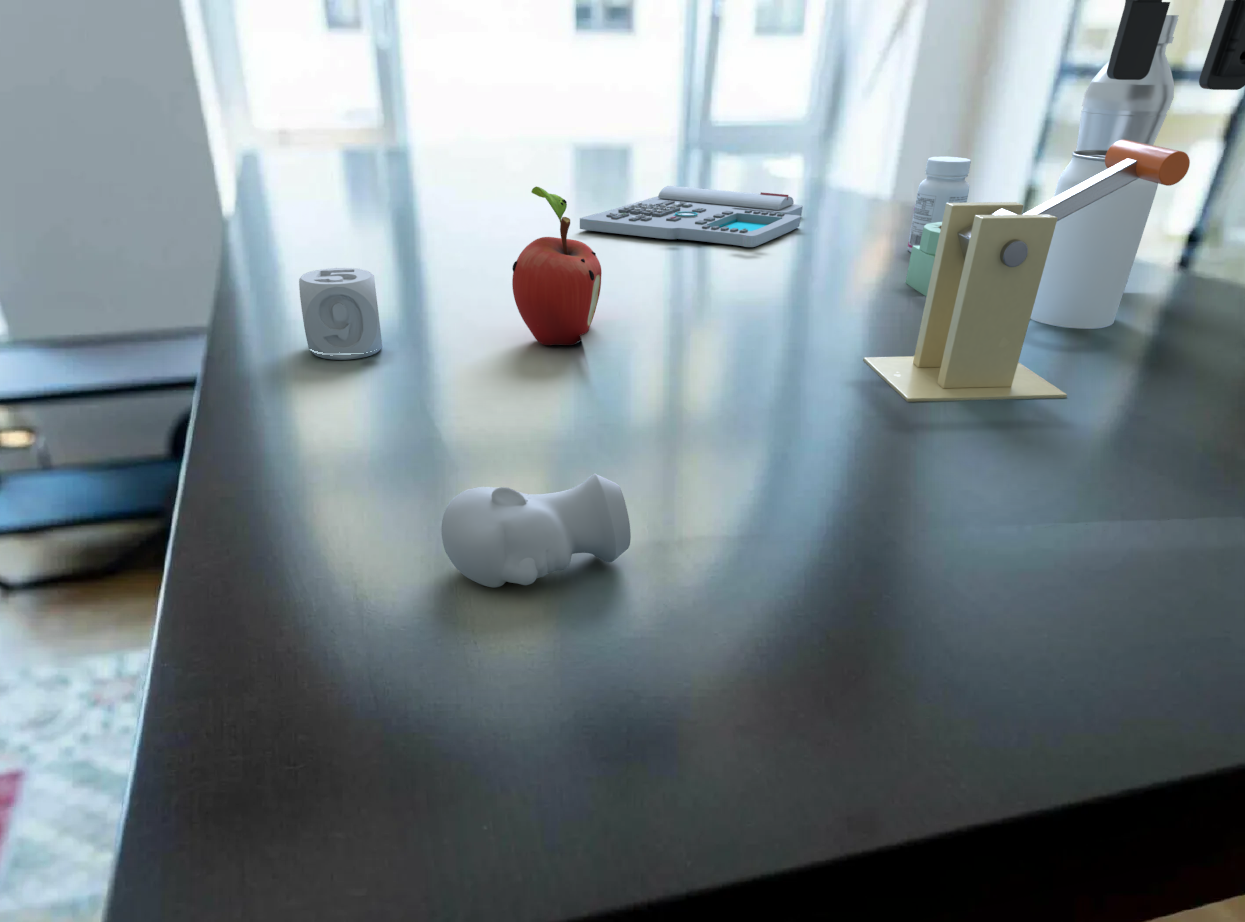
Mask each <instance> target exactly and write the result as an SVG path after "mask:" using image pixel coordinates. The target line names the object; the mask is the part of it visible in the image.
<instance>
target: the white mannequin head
mask: <svg viewBox="0 0 1245 922" xmlns="http://www.w3.org/2000/svg"><path fill="white" fill-rule="evenodd" d="M630 524H631V523H630V518H629V513H628V508H627V504H626V500H625V496H624V493H623V490H622V489H621V486H620V485H619V484H618V483H617V482H614V481H613V480H611V479H608V478H606V477H604V476H602V475H599V474H597V473H592V474H591V475H590V476H589V477H587V478H586V479H585V480H584V481H582V482H581V483H579V484H578V485H576V486H573V487H571V488H569V489H564V490H561V491H555V492H547V493H533V494H532V493H531V494H529V493H524V492H521V491H517V490H515V489H513V488H510V487H507V486H500V487H494V486H493V487H492V486H479V487H472V488H468V489H466V490H463V491H461V492H459V493H458V494H456V495H455V496H454V497H453V498H452V499H450V501H449V503H447V506H446V507H445V510H444V511H443V516H442V519H441V540H442V545H443V549H444V551H445V554H446V555H447V557H448V559H449V561H450V562H451V564H452V565H453V566H454V567H455V568H456V570H457V571H458V572H459V573H461V575H463V577H465V578H466V579H468V580H471V581H473V582H475V583H477V584H479V585H482V586H483V587H484V586H485V587H488V588H500V587H502V586H503V585H504V584H505V583H506V582H508V583H513V584H519V585H522V586H529V585H532V584H534V582H535V581H536V580H537V579H540V578H544V577H546V576H547V574H551V573H555V572H560V571H564V570H566V569H568V568H569V566H570V564H571V560H572V555H574V554H590V555H593V556H594V557H597V558H598V559H599V560H601V561H603V562H606V563H612V562H614V561H616V559H618V558H619V557H620V556H621V555H623V554H624V553H625V552H626V551H627V550H628V549H629V548H630V545H631V538H632V537H631V533H632V532H631V525H630Z"/></svg>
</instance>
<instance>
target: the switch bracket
mask: <svg viewBox="0 0 1245 922" xmlns="http://www.w3.org/2000/svg"><path fill="white" fill-rule="evenodd" d="M1000 209H1005V210H1007V211H1010V212H1012V213H1015V214H1018V215H991V214H993V213H995V212H996V211H998V210H1000ZM1023 209H1024V204H1023V203H1020V202H1016V201H988V202H987V201H985V202H984V201H983V202H982V201H980V202H979V201H978V202H977V201H976V202H975V201H973V202H970V201H969V202H967V203H946V206H945V211H944V216H943V221H942V225H941V230H940V235H939V240H938V245H937V249H936V254H935V259H934V264H933V269H932V273H931V278H930V283H929V288H928V293H927V296H925V297H926V298H925V302H924V308H923V313H922V318H921V322H920V326H919V331H918V337H917V340H916V345H915V351H914V354H913V356H912V355H911V356H864V357H863V358H862V361H863V362H864V363H865V364H866V365H867V366H868V367H869V368H871V369H872V370H873V371H874V372H875V373H876V375H878V376H879V377H880V378H881V379H882V380H883V381H885V383H887V384H888V385H889V386H890V387H891V388H892V389H893V390H894V391H895V392H896V393H897V394H898V395H899V396H900V397H902V398H903V399H904V400H905V401H906V402H908V403H909V402H911V403H913V402H915V403H916V402H949V401H985V400H988V401H990V400H991V401H992V400H993V401H994V400H1029V399H1061V398H1062V399H1064V398H1065V399H1067V397H1068V394H1067V393H1066V392H1064V391H1063V390H1061V389H1060V388H1058V387H1057V386H1055V385H1054V384H1052V383H1050V382H1049V381H1047V380H1046V379H1045V378H1043V377H1042V376H1040V375H1039V374H1038V373H1036V372H1035V371H1032V370H1031V369H1029V368H1028V367H1027V366H1025V365H1024V364H1022V363H1021V362H1019V360H1020V357H1021V354H1022V350H1023V348H1024V347H1023V346H1024V343H1025V339H1026V336H1027V332H1028V328H1029V325H1030V321H1031V319H1030V317H1031V314H1032V310H1033V306H1034V303H1035V299H1036V295H1037V292H1038V288H1039V284H1040V281H1041V277H1042V273H1043V270H1044V266H1045V262H1046V259H1047V255H1048V251H1049V248H1050V244H1051V240H1052V237H1053V233H1054V229H1055V226H1056V222H1057V217H1055V216H1052V215H1049V214H1034V215H1023V214H1022V213H1023ZM972 224H973V227H972V231H971V236H970V240H969V245H968V249H967V253H966V258H965V262H964V258H963V254H962V250H961V246H960V242H959V238H958V234H957V233H958V232H959V231H961V230H963V229H965V228H967V227H968V226H970V225H972Z"/></svg>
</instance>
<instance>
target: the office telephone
mask: <svg viewBox="0 0 1245 922" xmlns="http://www.w3.org/2000/svg"><path fill="white" fill-rule="evenodd" d="M794 201H795V200H794V198H793V197H792V196H789V194H783V193H772V192H761V191H760V193H754V192H742V191H734V190H733V191H732V190H722V189H712V188H711V189H710V188H699V187H689V186H677V185H666V186H665V187H663V188H662V189H661V190H660V191H659V193H658V195H657V196H653V197H650V198H646V199H643V200H639V201H636V202H633V203H629V204H626V205H622V206H619V207H615V208H613V209H612V208H611V209H609V210H606V211H605V210H604V211H601V212H598V213H594V214H590V215H586V216H583V217H580V218H579V229H580V230H584V231H591V232H601V233H608V234H619V235H626V236H627V235H628V236H635V237H636V236H637V237H645V238H655V239H664V240H677V239H678V240H688V241H697V242H707V243H714V244H722V245H733V246H741V247H744V248H754V247H758V246H760V245H762V244H765V243H768V242H769V241H772V240H774V239H776V238H779V237H781V236H783V235H786V234H787V233H790V232H792V231H794V230H796V229H798V228H799V227H800V224H801V217H802V215H803V205H801V204H796V203H795V202H794ZM794 203H795V204H794Z"/></svg>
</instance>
